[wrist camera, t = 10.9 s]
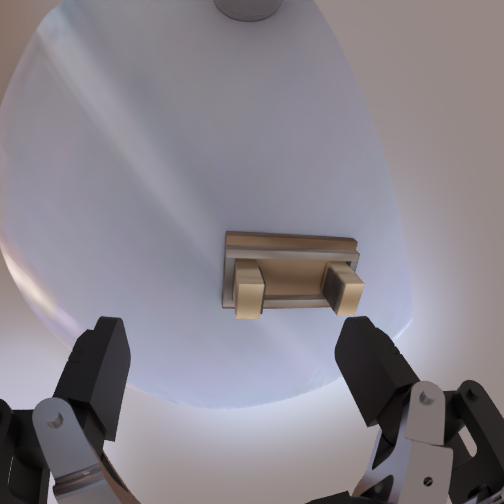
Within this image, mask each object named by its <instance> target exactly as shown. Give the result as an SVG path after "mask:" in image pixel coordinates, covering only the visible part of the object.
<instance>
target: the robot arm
mask: <svg viewBox="0 0 504 504" xmlns="http://www.w3.org/2000/svg"><path fill="white" fill-rule="evenodd" d="M282 1H283V0H214V2H215V4H216V6H217V7H218V9H219V10H220V11H221V12H222V13H224V14H225V15H227V16H229V17H231V18H234V19H237V20H242V21H257V20H261V19H265V18H267V17H269V16H271V15H272V14H273V13H275V12H276V10H277V9H278V8H279V6H280V4H281V3H282ZM72 350H73V351H72V352H71V354H70V356H69V358H68V359H69V360H68V361H67V363H66V365H65V368H64V370H63V372H62V375H61V377H60V379H59V382H58V385H57V387H56V389H55V392H54V394H53V396H52V398H47V399H44V400H42V401H41V402H40V403H39V404H37V406H36V407H35V409H34V410H12V409H11V408H10V407H9V405H8V404H7V403H6V402H5V401H4V400H2V399H0V504H47V497H48V487H49V478H50V471H51V472H52V475H53V477H54V480H55V485H54V486H53V493H54V496H55V498H56V500H57V502H58V504H141V503H140V502H139V501H138V500H137V499H136V498H135V497H134V495H133V494H132V493H131V492H130V490H129V489H128V488H127V486H126V485H125V484H124V482H123V481H122V479H121V478H120V476H119V475H118V473H117V472H116V470H115V469H114V467H113V466H112V464H111V462H110V461H109V459H108V457H107V456H106V454H105V453H104V451H103V444H104V440H109V441H114V442H115V437H116V431H117V426H118V420H119V414H120V409H121V404H122V399H123V394H124V390H125V385H126V381H127V376H128V372H129V368H130V361H131V356H130V348H129V344H128V341H127V337H126V332H125V328H124V324H123V321H122V319H121V318H116V317H104V316H101V317H100V318H99V319H98V321H97V323H96V326H95V328H94V330H88V329H87V330H86V331H85V332H84V333H83V334H82V335H81V336H80V337H79V338H78V339H77V341H76V343H75V345H74V347H73V349H72ZM335 360H336V363H337V365H338V367H339V369H340V371H341V373H342V375H343V377H344V379H345V381H346V383H347V385H348V387H349V390H350V392H351V394H352V396H353V398H354V400H355V402H356V404H357V406H358V408H359V410H360V412H361V414H362V417H363V419H364V421H365V423H366V425H367V427H371V426H374V425H377V424H379V426H380V427H381V429H380V430H379V431H378V434H377V437H376V440H375V444H374V447H373V451H372V454H371V457H370V460H369V463H368V466H367V469H366V472H365V474H364V476H363V477H362V479H361V480H360V481H359V483H358V484H357V486H356V488H355V489H354V492H353V494H352V496H350V495H349V492H348V491H345V492H342V493H338V494H335V495H331V496H327V497H324V498H320V499H316V500H312V501H310V502H308V503H306V504H446V502H447V497H448V494H449V497H450V499H451V502H452V504H504V419H503V417H502V415H501V414H500V412H499V411H498V409H497V408H496V406H495V404H494V403H493V402H492V400H491V399H490V397H489V395H488V394H487V393H486V391H485V390H484V388H483V387H482V386H481V385H480V384H479V383H477V382H475V381H472V380H467V381H464V382H463V383H462V384H461V385H460V387H459V388H458V389H457V391H442V390H441V389H440V388H439V387H438V386H437V385H436V384H434V383H432V382H429V381H420V380H419V378H418V377H417V375H416V374H415V373H414V371H413V370H412V368H411V367H410V365H409V364H408V363H407V361H406V360H405V358H404V357H403V355H402V354H400V351H399V350H398V348H397V347H396V346H394V343H393V342H392V340H391V339H390V337H389V336H388V335H387V334H386V333H384V332H383V331H382V330H380V329H379V328H375V326H374V325H373V323H372V322H371V321H370V319H369V318H368V317H367V316H359V317H348V318H347V319H346V320H345V322H344V324H343V327H342V330H341V333H340V336H339V338H338V341H337V344H336V347H335ZM465 425H466V427H467V428H468V431H469V432H470V434H471V436H472V438H473V440H474V441H475V443H476V445H477V453H476V455H475V456H474V457H472V456H470V454H469V452H468V450H467V449H466V446H465V445H464V443H463V441H462V439H461V437H460V435H459V433H458V432H459V431H460V430H461V429H462V428H463V427H464V426H465ZM12 457H13V460H12ZM11 462H12V465H11ZM10 467H11V470H10ZM9 473H10V475H9ZM8 479H9V482H8Z"/></svg>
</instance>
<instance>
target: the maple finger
mask: <svg viewBox="0 0 504 504" xmlns="http://www.w3.org/2000/svg"><path fill="white" fill-rule="evenodd" d="M364 285H365V283H364V282H363V281H362V280H361V279H360V278H359V277H358V275H357V274H356V273H355V272H354V271H353V270H352V269H351V268H350V267H349V266H348V265H347V264H346V263H345V261H327V265H326V269H325V273H324V278H323V282H322V286H321V292H322V294H323V295H324V297H325V298H326V300H327V302H328V303H329V305H330V306H331V308H332V309H333V311H334V312H335V314H336V315H337V316H340V315H355V312H356V309H357V306H358V304H359V301H360V298H361V294H362V291H363V288H364Z"/></svg>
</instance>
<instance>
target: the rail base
mask: <svg viewBox="0 0 504 504" xmlns="http://www.w3.org/2000/svg"><path fill="white" fill-rule="evenodd" d="M357 243H358V242H357V241H356V240H355V239H353V238H339V237H323V236H306V235H289V234H270V233H249V232H227V231H226V243H225V258H224V274H223V292H222V308H234V309H235V314H236V319H259V318H260V314H262V312H263V309H276V308H318V307H331V306H330V305H329V303H328V302H327V300H326V298H325V297H324V295H323V294H322V292H321V286H322V282H323V278H324V273H325V269H326V265H327V261H345V263H346V264H347V265H348V266H349V267H350V268H351V269H352V270H353V271H354V272H355V271H356V267H357V264H358V260H359V256H360V254H359V253H358V252H357V251H356V247H357Z"/></svg>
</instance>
